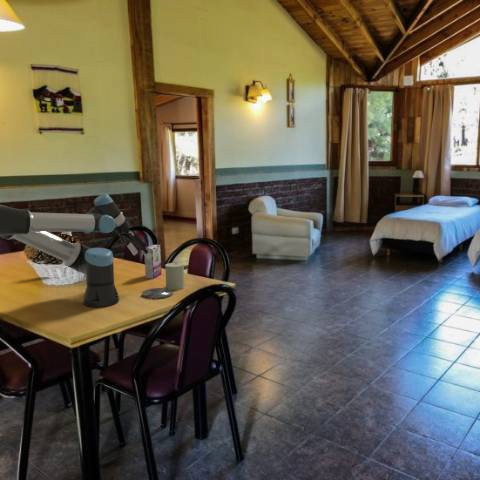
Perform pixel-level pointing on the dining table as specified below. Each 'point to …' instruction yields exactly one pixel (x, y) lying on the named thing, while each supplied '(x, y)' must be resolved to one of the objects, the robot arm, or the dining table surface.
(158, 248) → the candy bar box
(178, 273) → the can
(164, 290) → the flange plate
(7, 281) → the dining table surface
